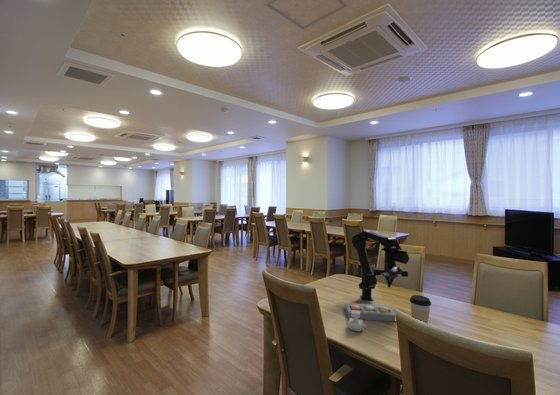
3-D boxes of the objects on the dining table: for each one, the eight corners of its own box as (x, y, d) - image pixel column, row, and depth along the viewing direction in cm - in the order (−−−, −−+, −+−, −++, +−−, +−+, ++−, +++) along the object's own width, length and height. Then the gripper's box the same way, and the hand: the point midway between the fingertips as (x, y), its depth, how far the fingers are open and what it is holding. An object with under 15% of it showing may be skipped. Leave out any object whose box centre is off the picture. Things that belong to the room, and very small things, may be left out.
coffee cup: (433, 335, 130) (434, 302, 129) (411, 332, 131) (412, 300, 131) (426, 325, 139) (427, 295, 139) (406, 323, 141) (407, 293, 141)
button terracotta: (350, 311, 153) (350, 304, 153) (358, 311, 153) (358, 305, 153) (351, 314, 149) (352, 307, 149) (360, 314, 149) (360, 308, 149)
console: (344, 308, 158) (345, 302, 158) (388, 310, 156) (388, 304, 156) (348, 318, 145) (349, 312, 145) (396, 321, 143) (397, 314, 143)
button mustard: (378, 312, 152) (378, 306, 152) (386, 312, 152) (387, 306, 152) (380, 316, 148) (381, 309, 148) (389, 316, 148) (389, 310, 148)
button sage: (364, 311, 153) (364, 305, 153) (372, 312, 152) (372, 305, 152) (366, 315, 148) (366, 308, 148) (374, 315, 148) (375, 309, 148)
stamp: (365, 328, 135) (366, 310, 135) (364, 334, 128) (365, 316, 128) (346, 324, 138) (347, 307, 138) (344, 330, 132) (345, 312, 132)
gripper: (376, 262, 152) (375, 291, 152) (412, 264, 150) (411, 293, 151) (371, 257, 163) (370, 284, 163) (404, 259, 161) (404, 286, 162)
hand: (388, 287), depth 159 cm, fingers closed
